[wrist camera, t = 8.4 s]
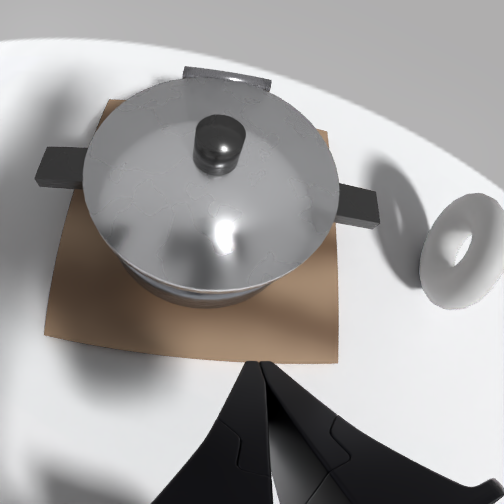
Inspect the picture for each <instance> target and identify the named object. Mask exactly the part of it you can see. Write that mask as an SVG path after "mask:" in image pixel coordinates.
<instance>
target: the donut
mask: <svg viewBox="0 0 504 504" xmlns="http://www.w3.org/2000/svg"><path fill="white" fill-rule="evenodd" d="M471 235H472V240H471V243H470V246H469V249H468V251H467V252H466V254H465V256H464V257H463V259H462V260H461V261H460V262H459V263H458V264H457V265H454V264H455V259H456V256H457V253H458V251H459V249H460V247H461V246H462V244H463V243H464V242H465V240H466V239H467V238H468V237H469V236H471ZM503 271H504V210H503V209H502V207H501V206H500V205H499V203H498V202H497V201H496V200H495V199H493V198H491V197H489V196H487V195H484V194H481V193H475V194H467V195H464V196H462V197H460V198H458V199H456V200H454V201H453V202H452V203H451V204H450V205H449V206H447V207H446V208H445V209H444V210H443V212H442V213H441V214H440V215H439V217H438V218H437V219H436V221H435V222H434V224H433V226H432V228H431V229H430V231H429V233H428V235H427V238H426V240H425V243H424V245H423V249H422V253H421V257H420V268H419V275H420V280H421V285H422V289H423V291H424V292H425V294H426V295H427V297H428V298H429V300H430V301H431V302H432V303H433V304H435V305H437V306H439V307H441V308H443V309H446V310H457V309H465V308H467V307H469V306H471V305H473V304H475V303H477V302H479V301H480V300H481V299H482V298H483V297H484V296H486V295H487V294H488V293H489V292H490V291H491V290H492V289H493V287H494V286H495V284H496V283H497V281H498V280H499V278H500V276H501V275H502V273H503Z"/></svg>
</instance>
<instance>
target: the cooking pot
mask: <svg viewBox="0 0 504 504" xmlns="http://www.w3.org/2000/svg"><path fill="white" fill-rule="evenodd" d="M87 150H88V148H74V147H47V149H46V151H45V153H44V156H43V158H42V161H41V163H40V166H39V168H38V171H37V173H36V176H35V178H34V179H35V180H36V182H37V183H38V185H39V186H40V187H53V188H66V189H79V190H83V167H84V161H85V157H86V153H87ZM334 222H335V223H340V224H346V225H352V226H357V227H363V228H368V229H373V228H374V227H376V226H377V225H379V224H380V219H379V211H378V204H377V197H376V192H375V191H371V190H367V189H362V188H358V187H354V186H350V185H345V184H341V183H339V203H338V209H337V212H336V216H335V220H334ZM117 257H118V256H117ZM118 259H119V260H120V262H121V263H122V265H123V267H124V268H125V270H126V271H127V272H128V273H129V274H130V276H131V277H132V278H133V279H134V280H135V281H136V282H137V283H138V284H139V285H141V286H142V287H143V288H144V289H146V290H147V291H149V292H150V293H152V294H153V295H155V296H157V297H159V298H161V299H163V300H165V301H167V302H170V303H173V304H176V305H179V306H184V307H190V308H200V309H212V308H222V307H226V306H230V305H235V304H237V303H240V302H243V301H245V300H248V299H250V298H251V297H253V296H255V295H257V294H258V293H260V292H261V291H263V290H264V289H265V288H267V287H268V286H269V285H270V284H272V283H273V282H272V283H269V284H267V285H264V286H262V287H259V288H255V289H251V290H247V291H243V292H236V293H225V294H207V293H196V292H190V291H185V290H179V289H176V288H173V287H170V286H167V285H164V284H161V283H158V282H156V281H154V280H152V279H150V278H148V277H146V276H144V275H142V274H141V273H139V272H138V271H136V270H135V269H133V268H132V267H130V266H129V265H127V264H126V263H125V262H124V261H123V260H122V259H121V258H119V257H118Z"/></svg>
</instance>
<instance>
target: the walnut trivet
mask: <svg viewBox="0 0 504 504" xmlns="http://www.w3.org/2000/svg"><path fill="white" fill-rule="evenodd" d="M125 101H126V100H110V99H109V101H108V103H107V106H106V108H105V110H104V112H103V115H102V117H101V119H100V122H99V124H98V126H97V129H96V131H97V130H98V128H99V127H100V125H101V124H102V123H103V121H104V120H105V119H106V118H107V117H108V116H109V115H110V114H111V113H112V111H114V110H115V109H116V108H117V107H118V106H120V105H121V104H122V103H123V102H125ZM96 131H95V133H96ZM317 131H318V132H319V133H320V135H321V136H322V138H323V139H324V141H325V142H326V144H327V146H328V148H329V144H328V135H327V131H323V130H319V129H317ZM94 135H95V134H94ZM93 137H94V136H93ZM338 328H339V315H338V265H337V242H336V224H335V222H333V224H332V227H331V229H330V231H329V233H328V235H327V236H326V238H325V239H324V241H323V242H322V244H321V245H320V246H319V247H318V248H317V250H316V251H315V252H314V253H313V254H312V255H311V256H310V257H309V258H308V259H307V260H306V261H305V262H303V263H302V264H301V265H300V266H298V267H297V268H296V269H295V270H293V271H292V272H291V273H289V274H287V275H286V276H284V277H282V278H280V279H278V280H277V281H275V282H273V283H272V284H270V285H269V286H268V287H267V288H265V289H264V290H263V291H261V292H260V293H258V294H257V295H255V296H253V297H251V298H250V299H248V300H245V301H243V302H240V303H237V304H235V305H230V306H226V307H222V308H212V309H200V308H190V307H184V306H179V305H176V304H173V303H170V302H167V301H165V300H163V299H161V298H159V297H157V296H155V295H153V294H152V293H150V292H149V291H147V290H146V289H144V288H143V287H142V286H141V285H139V284H138V283H137V282H136V281H135V280H134V279H133V278H132V277H131V276H130V274H129V273H128V272H127V271H126V270H125V268H124V267H123V265H122V263H121V262H120V260H119V259H118V257H117V255H116V254H115V253H114V252H113V251H112V250H111V248H110V247H109V246H108V245H107V243H106V242H105V241H104V240H103V238H102V237H101V235H100V233H99V231H98V230H97V228H96V226H95V224H94V222H93V220H92V218H91V216H90V213H89V210H88V207H87V204H86V202H85V196H84V190H79V189H74V192H73V196H72V199H71V202H70V206H69V209H68V213H67V216H66V220H65V224H64V228H63V231H62V235H61V240H60V244H59V248H58V252H57V257H56V262H55V267H54V272H53V277H52V282H51V288H50V294H49V300H48V307H47V314H46V322H45V330H44V335H46V336H50V337H55V338H60V339H64V340H69V341H74V342H79V343H84V344H90V345H95V346H101V347H107V348H113V349H119V350H126V351H133V352H140V353H147V354H155V355H163V356H172V357H182V358H192V359H203V360H216V361H231V362H246V361H258V362H260V361H271V362H273V363H280V364H331V363H338Z"/></svg>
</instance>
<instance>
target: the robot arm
mask: <svg viewBox="0 0 504 504" xmlns="http://www.w3.org/2000/svg"><path fill="white" fill-rule="evenodd" d="M271 472H272V476H273V480H274V483H275V487H276V491H277V495H278V498H279V502H280V504H494V503H495V502H497V501H498V500H499V499H500V498H502V497H503V496H504V488H503V486H502V485H501V484H500V483H499V482H498V481H497V480H496V479H495V478H492V479H489V480H487V481H485V482H484V483H482V484H480V485H478V486H475V487H467V486H464V485H461V484H459V483H457V482H455V481H452V480H450V479H448V478H446V477H444V476H442V475H440V474H438V473H436V472H434V471H432V470H430V469H428V468H426V467H424V466H422V465H420V464H418V463H416V462H414V461H412V460H410V459H409V458H407V457H405V456H403V455H401V454H399V453H397V452H396V451H394V450H392V449H390V448H388V447H387V446H385V445H383V444H381V443H380V442H378V441H376V440H374V439H373V438H371V437H369V436H368V435H366V434H364V433H363V432H361V431H360V430H358V429H357V428H355V427H354V426H352V425H351V424H350V423H348V422H347V421H345V420H344V419H343V418H342V417H340V416H339V415H337V414H336V413H334V412H333V411H332V410H331V409H329V408H328V407H327V406H325V405H324V404H323V403H322V402H320V401H319V400H318V399H317V398H315V397H314V396H313V395H312V394H310V393H309V392H308V391H307V390H305V389H304V388H303V387H302V386H301V385H299V384H298V383H297V382H296V381H294V380H293V379H292V378H291V377H290V376H288V375H287V374H286V373H285V372H284V371H282V370H281V369H280V368H279V367H278V366H277V365H275V364H274V363H273V362H271V361H260V362H258V361H246V362H245V364H244V366H243V368H242V370H241V372H240V374H239V376H238V378H237V380H236V382H235V384H234V386H233V388H232V390H231V392H230V394H229V396H228V398H227V400H226V402H225V404H224V406H223V408H222V410H221V412H220V413H219V415H218V417H217V419H216V421H215V423H214V424H213V426H212V428H211V430H210V431H209V433H208V435H207V437H206V438H205V440H204V441H203V442H202V444H201V445H200V446H199V448H198V449H197V450H196V452H195V453H194V454H193V455H192V456H191V458H190V459H189V460H188V461H187V462H186V464H185V465H184V466H183V467H182V468H181V470H180V471H179V472H178V473H177V474H176V475H175V477H174V478H173V479H172V480H171V481H170V482H169V484H168V485H167V486H166V487H165V488H164V489H163V490H162V492H161V493H160V494H159V495H158V496H157V497H156V498H155V499H154V501H153V502H152V503H151V504H273V493H272V479H271Z"/></svg>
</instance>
